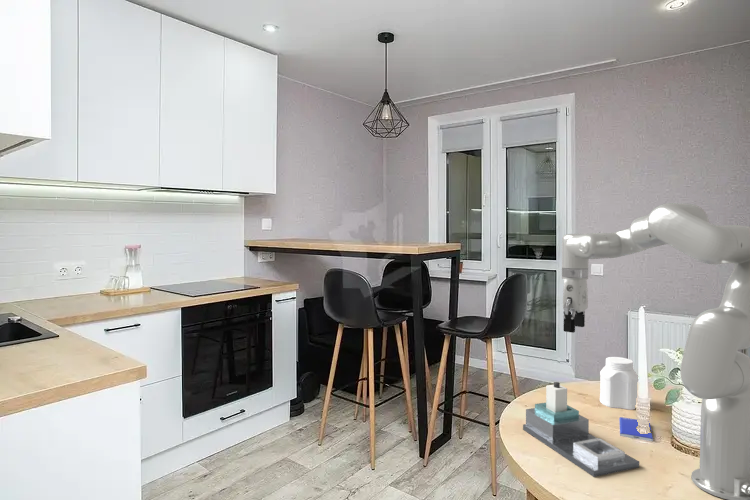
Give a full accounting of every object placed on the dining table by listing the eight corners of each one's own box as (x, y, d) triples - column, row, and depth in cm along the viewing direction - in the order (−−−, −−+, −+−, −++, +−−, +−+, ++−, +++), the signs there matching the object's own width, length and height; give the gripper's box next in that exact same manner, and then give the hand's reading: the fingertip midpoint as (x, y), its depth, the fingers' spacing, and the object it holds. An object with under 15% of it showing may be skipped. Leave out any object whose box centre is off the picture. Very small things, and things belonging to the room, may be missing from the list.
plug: (566, 415, 133) (567, 384, 133) (555, 417, 132) (555, 385, 131) (557, 410, 137) (557, 379, 136) (546, 412, 136) (546, 381, 135)
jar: (601, 406, 155) (601, 362, 155) (598, 396, 164) (599, 354, 164) (640, 411, 151) (641, 365, 151) (635, 400, 160) (636, 357, 160)
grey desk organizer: (639, 467, 116) (639, 435, 115) (593, 477, 111) (594, 444, 111) (562, 423, 142) (562, 397, 142) (523, 429, 138) (523, 403, 138)
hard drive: (619, 416, 144) (619, 432, 133) (649, 421, 141) (653, 438, 130) (619, 421, 144) (619, 437, 133) (649, 426, 141) (653, 443, 130)
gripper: (579, 277, 134) (578, 336, 134) (595, 272, 147) (594, 326, 148) (552, 275, 138) (552, 332, 139) (571, 271, 152) (570, 323, 152)
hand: (574, 329), depth 143 cm, fingers open, 9 cm apart
